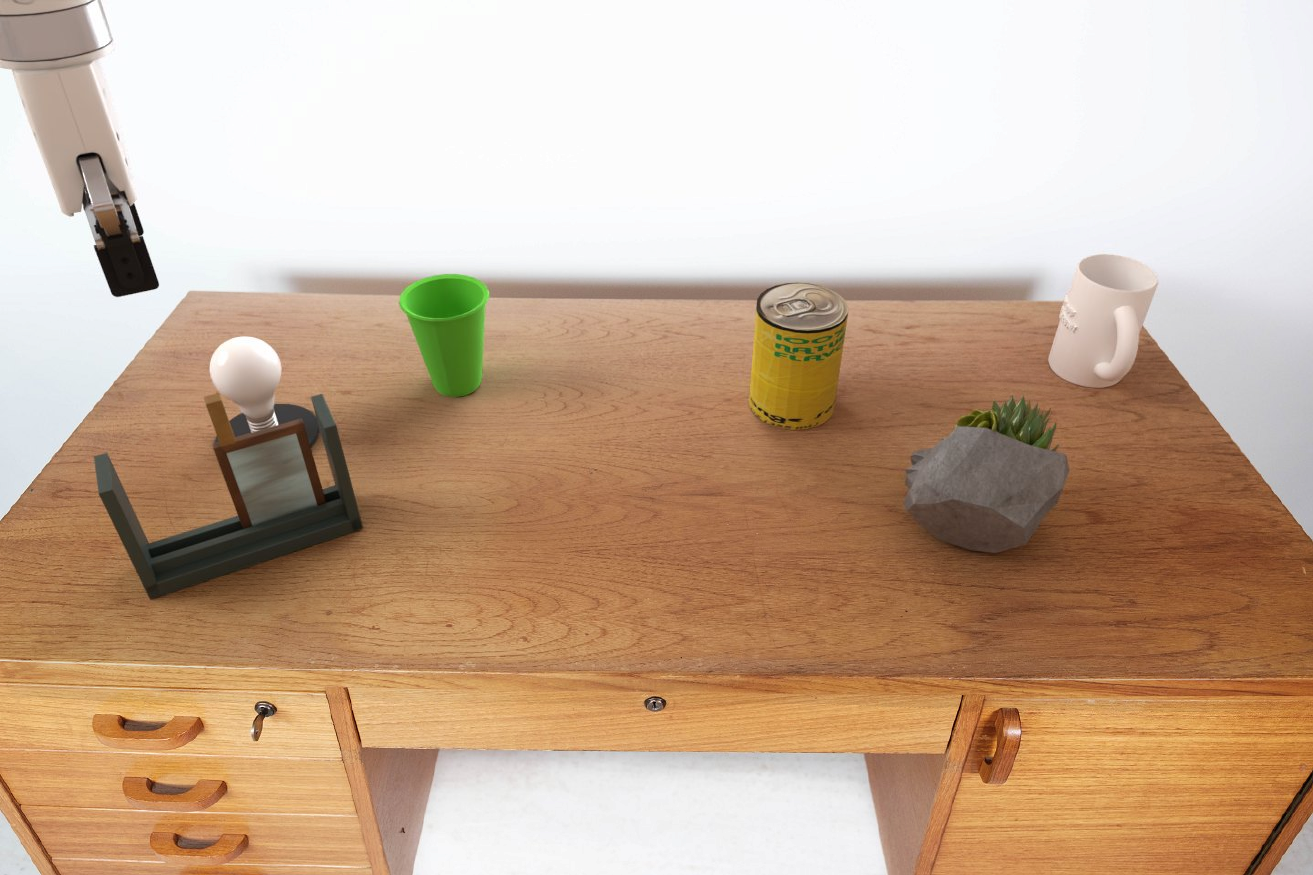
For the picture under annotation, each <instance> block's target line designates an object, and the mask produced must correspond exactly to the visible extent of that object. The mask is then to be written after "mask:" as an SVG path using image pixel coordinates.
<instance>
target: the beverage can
mask: <svg viewBox="0 0 1313 875" xmlns="http://www.w3.org/2000/svg"><path fill="white" fill-rule="evenodd" d="M755 305H756V306H755V320H754V330H753V332H754V333H753V345H752V358H751V369H750V372H751V373H750V385H749V397H748V405H749V407H750V410H751V412H752V413H753V415H755V417H756V418H758V419H759V420H760V421H762V422H763V423H766V424H768V425H770V426H772V427H776V428H779V429H784V430H794V431H799V430H800V431H801V430H808V429H813V428H815V427H819V426H820V425H823V424H824V423H826V422H827V421H829V419H830V418H831V417H832V415H833V413H834V411H835V406H836V405H835V404H836V400H837V399H836V398H837V392H838V384H839V378H840V372H841V364H842V356H843V351H844V345H845V344H844V343H845V338H846V330H847V325H848V317H849V305H848V302H847V301H846V300H845V298H844V297H842V296H841V295H840V294H839V293H838V292H836V291H834V290H832V289H830V288H829V287H826V286H822V285H819V284H814V283H807V282H787V283H781V284H776V285H774V286H771V287H768V288H766V289H765V290H764V291H762V292H761V293H760V295H758V297H757V299H756V304H755Z"/></svg>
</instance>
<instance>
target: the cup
mask: <svg viewBox="0 0 1313 875" xmlns="http://www.w3.org/2000/svg"><path fill="white" fill-rule="evenodd" d="M489 299H490V291H489V288H488V287H487V286H486V284H485V283H483V282H482V281H481V280H479V279H477V278H476V277H473V276H469V275H465V274H457V273H444V274H436V275H431V276H427V277H424V278H421V279H419V280H417V281H414V282H412V283H411V284H409V285H408V286H407V287H406V288H404V290H403V291H402V293H401V294H400V296H399V299H398V300H399V301H398V305H399V307H400V310H401V311H402V312H403V313H404V314H405V315H406V316H407V320H408V322H409V324H410V328H411V330H412V333H413V336H414V338H415V341H416V344H417V346H418V349H419V351H420V354H421V356H422V359H423V362H424V364H425V367H426V370H427V372H428V375H429V378H430V380H431V383H432V385H433V387H434V388H435V390H436V391H437V393H439V394H440V395H443V396H446V397H451V398H454V397H455V398H458V397H463V396H464V397H465V396H467V395H470V394H472V393H474V392H475V391H476V390H477V389H478V388H480V385H481V383H482V381H483V366H484V347H485V346H484V344H485V343H484V342H485V327H486V325H485V324H486V307H487V303H488V301H489Z"/></svg>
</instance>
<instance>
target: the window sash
mask: <svg viewBox="0 0 1313 875" xmlns="http://www.w3.org/2000/svg"><path fill="white" fill-rule="evenodd" d="M203 400H204V403H205V407H206V409H207V412H208V415H209V417H210V421H211V423H212V426H213V429H214V431H215V434H216V436H217V437H218V440H219V442H216V443H215V442H213V443H212V444H211V446H212V449H213V452H214V455H215V457H216V460H217V463H218V465H219V468H220V472H221V474H222V476H223V479H224V482H225V484H226V487H227V489H228V492H229V495H230V498H231V500H232V503H233V506H234V509H235V511H236V515H237V516H238V517H239V520H240V522H241V525H242V528H243V529H246V528H249V527H252V526H255V525H258V524H262V523H265V522H268V521H271V520H274V519H277V518H280V517H284V516H287V515H290V514H293V513H296V512H299V511H303V510H306V509H309V508H312V507H315V506H318V505H321V504H325V503H326V499H325V496H324V492H323V489H324V488H323V486H322V482H321V479H320V475H319V472H318V468H317V465H316V462H315V458H314V455H313V450H312V447H310V444H309V440H308V437H307V433H306V430H305V426H304V423H303V420H302V419H298V420H294V421H291V422H287V423H284V424H280V425H277V426H273V427H270V428H266V429H263V430H259V431H256V432H252V433H248V434H245V435H241V436H238V437H235V436H234V433H233V430H232V428H231V425H230V422H229V421H230V419H229V417H228V414H227V410H226V407H225V405H224V402H223V399H222V396H221V393H220V392H216V393H213V394H208V395H205V396H203Z"/></svg>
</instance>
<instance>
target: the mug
mask: <svg viewBox="0 0 1313 875" xmlns="http://www.w3.org/2000/svg"><path fill="white" fill-rule="evenodd" d="M1158 286H1159V278H1158V275H1157V272H1155V271H1154V269H1153V268H1151V267H1150V266H1148V265H1147V264H1146V263H1143V262H1142V261H1139V260H1136V259H1133V258H1130V257H1127V256H1123V255H1116V254H1106V253H1103V254H1092V255H1089V256H1086V257H1083V258H1082V259H1081V260H1080V261H1079V262H1078V263H1077V264H1076V268H1075V271H1074V274H1073V278H1072V281H1071V284H1070V287H1069V291H1068V293H1066V294H1065V295H1064V298H1063V302H1062V305H1061V308H1060V311H1059V316H1058V317H1059V322H1058V325H1057V329H1056V331H1055V335H1054V338H1053V342H1052V345H1051V348H1050V351H1049V354H1048V357H1047V358H1048V359H1047V361H1048V365H1049V368H1050V369H1051V370H1052V371H1053V372H1054V373H1055V375H1056V376H1058V377H1060V378H1061V379H1063V380H1064V381H1067V382H1068V383H1071V384H1074V385H1077V386H1080V387H1086V388H1095V389H1100V388H1102V389H1103V388H1104V389H1105V388H1110V387H1113V386H1114V385H1116V384H1118V383H1119V382H1120V381H1121V380H1122V379H1123V378H1124V377H1125V376H1127V374H1128V373H1129V372H1130V371H1131V369H1132V367H1133V365H1134V363H1135V361H1136V357H1137V354H1138V351H1139V350H1138V349H1139V344H1140V333H1141V331H1142V328H1143V326H1144V323H1145V321H1146V318H1147V315H1148V312H1149V309H1150V307H1151V304H1152V302H1153V299H1154V296H1155V294H1156V292H1157V288H1158Z"/></svg>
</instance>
